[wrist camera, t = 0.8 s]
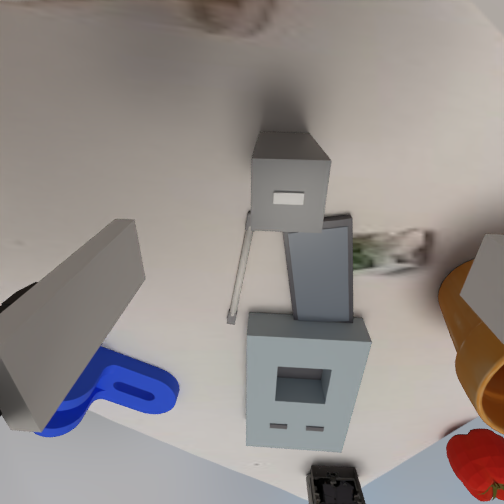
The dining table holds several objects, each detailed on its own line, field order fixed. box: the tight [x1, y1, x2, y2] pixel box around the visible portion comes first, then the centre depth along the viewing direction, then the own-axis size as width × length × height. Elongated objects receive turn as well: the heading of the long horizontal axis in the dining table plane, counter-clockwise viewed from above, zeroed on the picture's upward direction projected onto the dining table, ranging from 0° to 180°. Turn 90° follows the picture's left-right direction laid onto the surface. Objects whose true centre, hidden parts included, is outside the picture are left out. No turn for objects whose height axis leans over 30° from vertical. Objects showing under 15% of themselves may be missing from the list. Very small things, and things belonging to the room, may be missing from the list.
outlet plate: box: [246, 313, 372, 452], centre depth 41 cm, size 14×22×4 cm, turn 179°
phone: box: [283, 215, 353, 323], centre depth 34 cm, size 7×14×1 cm, turn 9°
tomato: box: [446, 429, 504, 501], centre depth 44 cm, size 9×9×8 cm
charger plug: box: [251, 132, 331, 233], centre depth 23 cm, size 4×4×12 cm
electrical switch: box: [306, 466, 365, 504], centre depth 50 cm, size 9×5×9 cm, turn 92°
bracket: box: [34, 346, 179, 437], centre depth 41 cm, size 18×8×9 cm, turn 64°
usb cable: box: [227, 212, 253, 325], centre depth 35 cm, size 15×1×1 cm, turn 169°
